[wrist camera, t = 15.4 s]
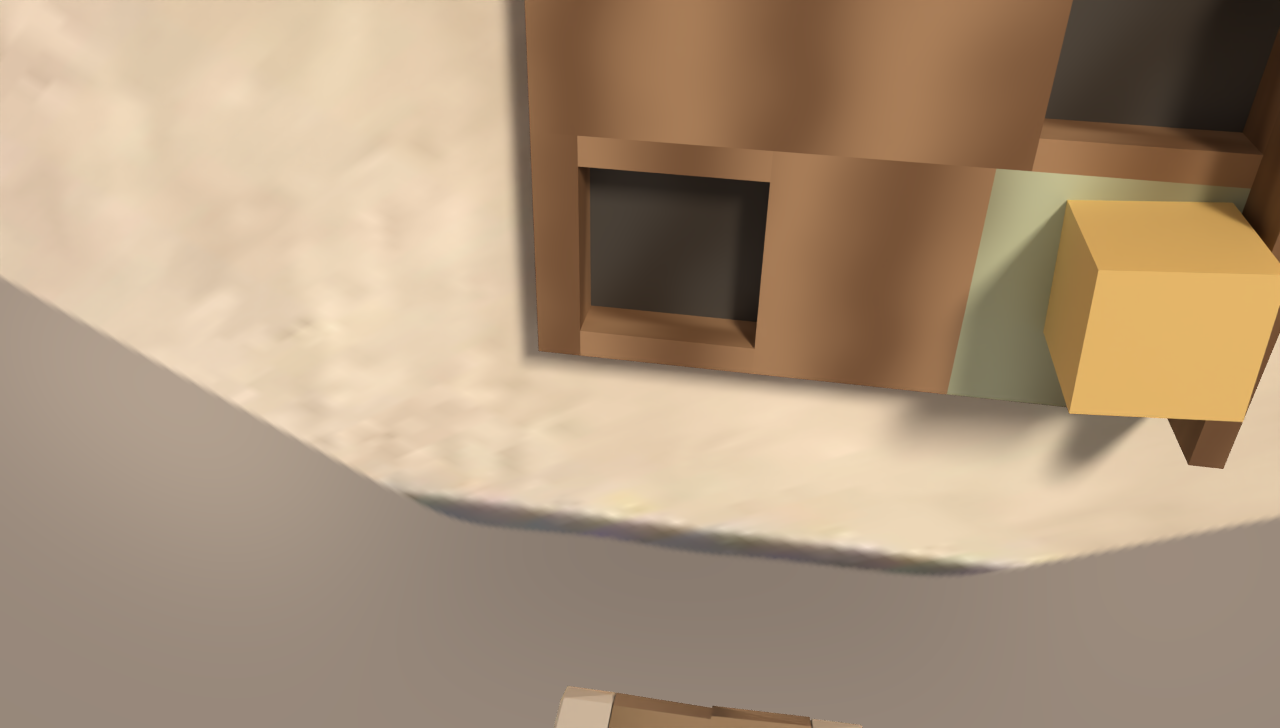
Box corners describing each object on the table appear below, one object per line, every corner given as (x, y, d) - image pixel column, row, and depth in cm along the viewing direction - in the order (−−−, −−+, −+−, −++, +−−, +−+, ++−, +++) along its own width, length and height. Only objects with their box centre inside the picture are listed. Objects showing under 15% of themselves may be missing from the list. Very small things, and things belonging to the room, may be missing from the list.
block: (1043, 332, 33) (1069, 413, 29) (1067, 200, 30) (1098, 270, 27) (1196, 337, 32) (1242, 421, 28) (1233, 202, 30) (1289, 275, 26)
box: (552, 322, 38) (520, 390, 34) (536, -164, 29) (491, -145, 25) (1182, 387, 35) (1223, 468, 31) (1373, -130, 26) (1460, -102, 23)
